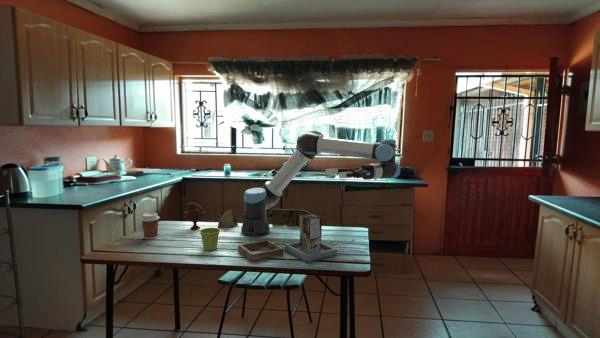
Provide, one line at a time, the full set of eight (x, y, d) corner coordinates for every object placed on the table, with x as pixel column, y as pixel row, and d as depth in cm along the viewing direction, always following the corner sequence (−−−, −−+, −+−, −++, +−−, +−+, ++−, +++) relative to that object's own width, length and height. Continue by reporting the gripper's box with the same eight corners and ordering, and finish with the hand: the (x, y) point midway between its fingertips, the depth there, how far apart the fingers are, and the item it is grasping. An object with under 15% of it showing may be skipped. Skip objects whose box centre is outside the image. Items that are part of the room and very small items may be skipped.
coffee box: (322, 252, 160) (322, 217, 158) (309, 255, 157) (309, 219, 155) (311, 246, 168) (311, 213, 166) (299, 249, 165) (299, 214, 163)
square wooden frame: (238, 251, 164) (238, 244, 164) (267, 245, 172) (267, 239, 172) (252, 261, 152) (252, 254, 152) (283, 255, 160) (283, 248, 160)
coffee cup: (139, 236, 186) (138, 213, 184) (157, 233, 191) (156, 211, 190) (143, 241, 178) (142, 217, 177) (162, 237, 184) (161, 214, 183)
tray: (285, 250, 166) (285, 244, 165) (313, 244, 174) (313, 238, 174) (306, 263, 151) (306, 256, 150) (336, 255, 159) (337, 249, 159)
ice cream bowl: (199, 231, 195) (199, 204, 193) (181, 230, 197) (180, 203, 195) (208, 226, 205) (208, 200, 203) (190, 225, 207) (189, 199, 206)
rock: (213, 224, 201) (228, 223, 198) (216, 210, 206) (231, 209, 202) (222, 231, 210) (237, 231, 207) (225, 218, 214) (240, 217, 211)
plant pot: (224, 246, 171) (224, 228, 170) (213, 253, 162) (213, 234, 161) (207, 244, 174) (207, 226, 173) (195, 250, 165) (195, 232, 164)
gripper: (386, 182, 165) (345, 185, 157) (357, 176, 188) (320, 178, 180) (386, 166, 164) (346, 168, 156) (357, 161, 187) (320, 163, 179)
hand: (332, 173), depth 168 cm, fingers open, 13 cm apart
